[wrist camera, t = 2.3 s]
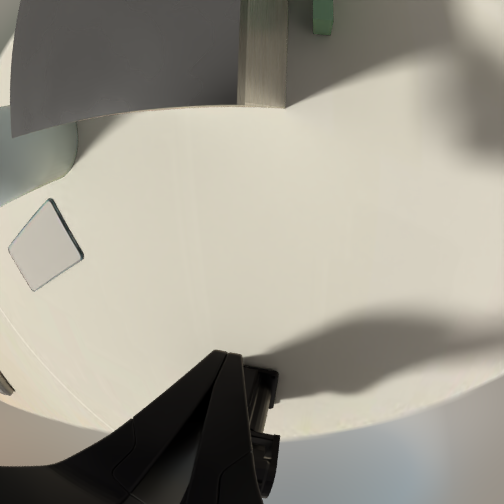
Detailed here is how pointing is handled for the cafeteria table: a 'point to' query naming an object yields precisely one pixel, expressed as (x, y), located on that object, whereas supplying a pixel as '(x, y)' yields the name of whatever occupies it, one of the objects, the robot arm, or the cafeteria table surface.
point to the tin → (144, 58)
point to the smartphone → (44, 247)
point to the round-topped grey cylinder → (33, 157)
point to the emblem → (5, 386)
